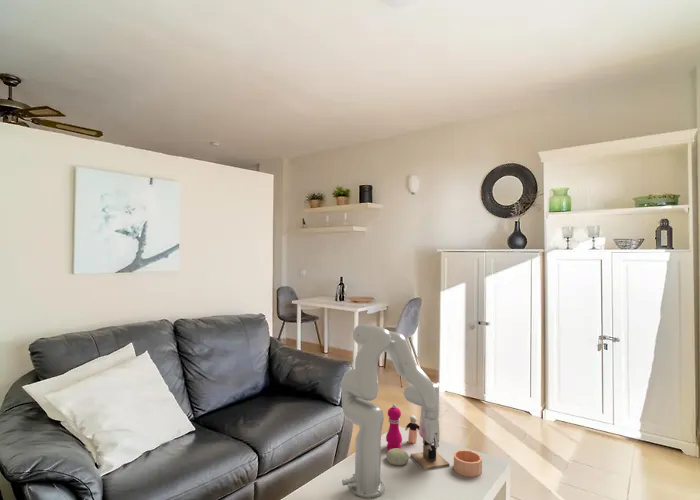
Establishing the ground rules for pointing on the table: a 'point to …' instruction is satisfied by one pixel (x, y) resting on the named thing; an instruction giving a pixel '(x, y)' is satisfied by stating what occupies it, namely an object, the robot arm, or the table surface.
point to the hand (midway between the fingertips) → (429, 455)
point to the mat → (428, 469)
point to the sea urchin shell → (397, 456)
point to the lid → (427, 463)
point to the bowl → (467, 463)
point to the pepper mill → (394, 428)
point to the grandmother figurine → (412, 430)
